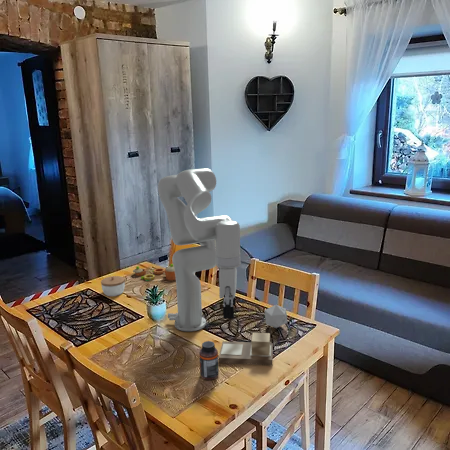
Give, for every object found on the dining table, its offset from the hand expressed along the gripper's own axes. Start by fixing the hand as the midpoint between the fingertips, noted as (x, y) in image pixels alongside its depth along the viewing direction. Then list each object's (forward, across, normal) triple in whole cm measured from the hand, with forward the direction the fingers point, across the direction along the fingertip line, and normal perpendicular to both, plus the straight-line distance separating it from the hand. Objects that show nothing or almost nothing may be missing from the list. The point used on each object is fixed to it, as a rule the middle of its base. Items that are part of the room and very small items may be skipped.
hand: (229, 311), depth 140 cm
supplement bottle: (+21, +5, -7) cm, 22 cm away
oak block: (+18, -8, +10) cm, 22 cm away
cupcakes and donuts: (+21, -80, -42) cm, 93 cm away
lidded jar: (+20, -59, -59) cm, 86 cm away
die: (+21, -28, +16) cm, 38 cm away
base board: (+20, -8, +5) cm, 22 cm away
